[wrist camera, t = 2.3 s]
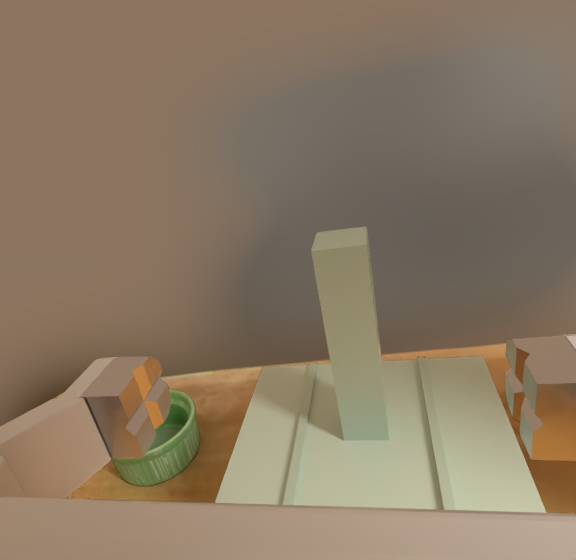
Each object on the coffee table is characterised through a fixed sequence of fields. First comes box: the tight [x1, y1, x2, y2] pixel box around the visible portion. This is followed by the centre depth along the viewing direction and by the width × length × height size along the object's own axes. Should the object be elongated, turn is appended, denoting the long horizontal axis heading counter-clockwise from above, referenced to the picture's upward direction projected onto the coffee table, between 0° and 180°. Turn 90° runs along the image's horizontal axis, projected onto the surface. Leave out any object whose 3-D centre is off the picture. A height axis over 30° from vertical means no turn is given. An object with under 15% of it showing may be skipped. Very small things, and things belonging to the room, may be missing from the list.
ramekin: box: [111, 390, 200, 486], centre depth 42 cm, size 9×9×4 cm
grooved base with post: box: [215, 227, 546, 513], centre depth 28 cm, size 19×15×15 cm
